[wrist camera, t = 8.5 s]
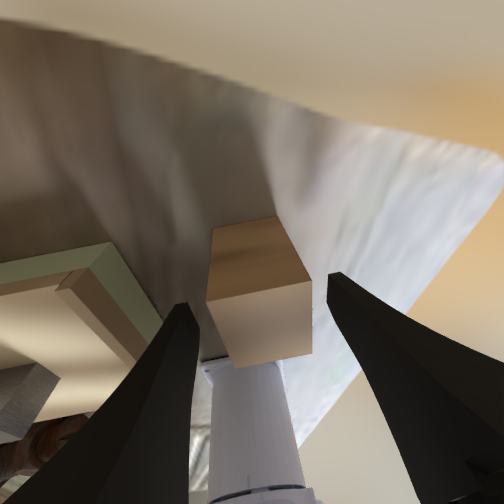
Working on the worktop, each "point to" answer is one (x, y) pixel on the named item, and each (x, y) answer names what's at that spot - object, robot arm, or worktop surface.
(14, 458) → the bolt
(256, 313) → the block
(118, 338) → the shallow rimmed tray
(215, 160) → the worktop surface
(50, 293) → the lid
